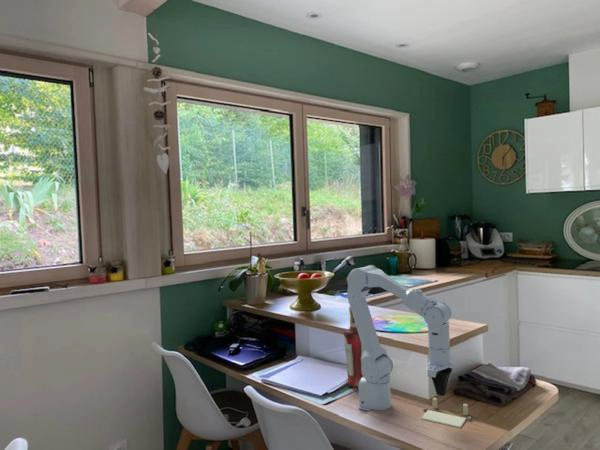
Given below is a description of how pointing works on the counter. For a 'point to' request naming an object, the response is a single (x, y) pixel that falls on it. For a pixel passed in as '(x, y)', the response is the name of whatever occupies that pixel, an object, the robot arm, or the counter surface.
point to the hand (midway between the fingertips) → (441, 394)
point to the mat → (465, 408)
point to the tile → (444, 418)
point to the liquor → (353, 353)
